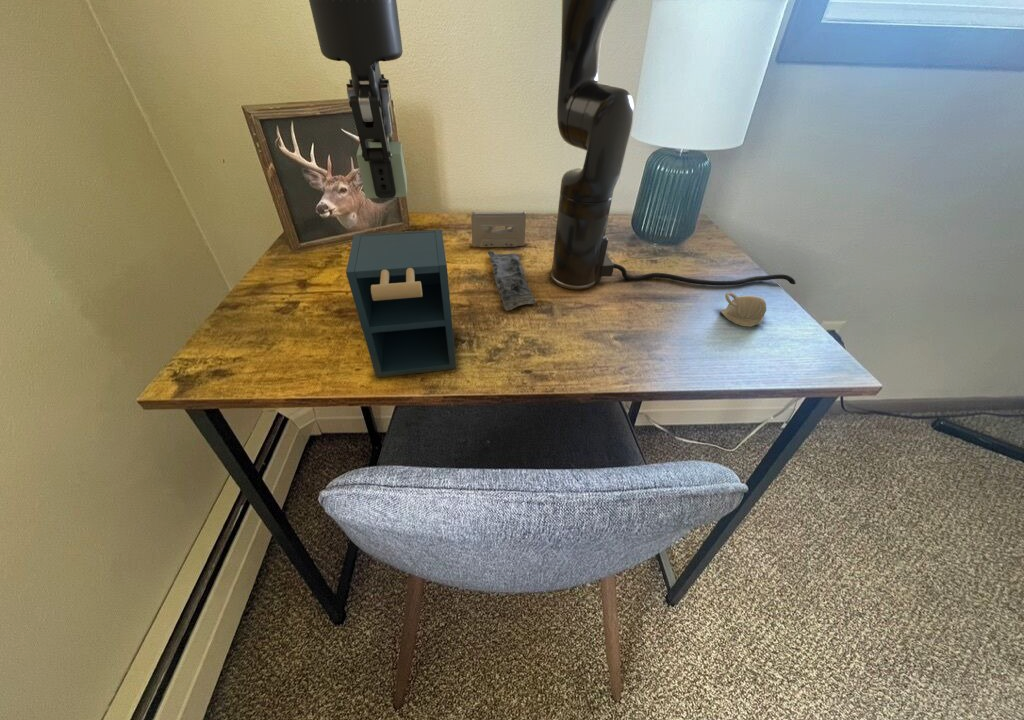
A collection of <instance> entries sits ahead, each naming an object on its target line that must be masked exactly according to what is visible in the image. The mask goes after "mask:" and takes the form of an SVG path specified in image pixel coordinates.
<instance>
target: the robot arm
mask: <svg viewBox="0 0 1024 720" xmlns="http://www.w3.org/2000/svg"><path fill="white" fill-rule="evenodd" d="M308 3H309V6H310V11H311V15H312V19H313V24H314V28H315V32H316V36H317V40H318V44H319V49H320V52H321V55H323V56H324V57H325V58H326V59H328V60H330V61H335V62H345V63H347V64H348V66H349V69H350V71H349V73H350V78H349V79H348V83H346V85H345V87H346V94H347V100H348V104H349V108H351V112H352V116H353V120H354V125H355V130H356V134H357V137H358V140H359V145H361V149H362V157H364V160H365V161H367V162H368V163H369V165H370V170H371V175H372V180H373V185H374V190H375V194H376V196H377V197H378V198H377V199H387V198H395V197H394V196H395V195H396V189H395V183H394V177H393V171H392V165H391V158H392V153H390V147H389V142H395V141H394V136H393V132H394V128H393V126H394V115H393V109H392V104H391V100H392V89H391V84H390V79H389V78H387V77H385V74H384V73H381V67H380V62H391V61H396V60H398V59H400V58H401V57H402V55H403V43H402V42H403V41H402V35H401V27H400V18H399V11H398V3H397V0H308ZM617 3H618V0H561V34H560V35H561V40H560V41H561V42H560V62H559V77H558V87H557V88H558V90H557V91H558V92H557V107H556V117H557V119H556V120H557V128H558V132H559V134H560V136H561V138H562V140H563V141H564V142H565V143H566V144H568V145H570V146H572V147H575V148H578V149H580V150H583V151H586V152H585V153H586V154H585V158H584V162H583V165H582V167H577V168H572V169H569V170H567V171H566V172H564V173H563V175H562V177H561V181H560V189H559V200H558V209H557V218H556V226H555V236H554V246H553V253H552V256H553V257H552V264H551V272H550V278H551V279H550V280H552V282H553V283H554V284H556V285H557V286H559V287H561V288H564V289H569V290H577V291H578V290H587V289H589V288H592V287H593V286H595V285H599V284H600V283H601V279H602V277H612V276H613V272H614V270H615V269H616V270H619V272H621V275H622V276H621V277H622V278H623V279H625V280H627V281H643V280H648V279H653V278H660V279H668V280H673V281H677V282H682V283H687V284H694V285H701V286H718V287H719V286H720V287H721V286H722V287H723V286H738V285H739V286H740V285H744V284H747V283H748V284H749V283H752V282H759V281H761V282H763V281H771V280H785V281H787V282H788V283H789V284H790V285H796V280H795V279H794V278H793V276H790V275H788V274H782V273H781V274H780V273H779V274H778V273H777V274H767V275H759V276H758V275H757V276H756V275H755V276H751V277H747V278H746V277H745V278H742V279H736V280H735V279H734V280H708V279H698V278H697V279H696V278H690V277H685V276H680V275H675V274H671V273H666V272H665V273H664V272H651V273H646V274H642V275H641V274H640V275H636V276H635V275H634V276H633V275H630V274H628V273H627V269H626V268H625V267H624V266H623V265H621V264H618V263H615V262H613V261H612V260H611V258H610V257H609V256H608V254H607V248H608V244H609V238H608V237H607V235H606V231H607V226H608V221H609V216H610V211H611V206H612V200H613V195H614V192H615V188H616V185H617V183H618V181H619V179H620V177H621V173H622V171H623V166H624V162H625V158H626V155H627V150H628V146H629V143H630V138H631V135H632V131H633V126H634V120H635V101H634V98H633V95H632V93H631V92H630V91H629V90H628V89H626V88H624V87H620V86H616V85H611V84H607V83H602V82H600V81H599V68H600V65H599V64H600V53H601V46H602V40H603V36H604V33H605V29H606V28H607V24H608V22H609V20H610V17H611V16H612V13H613V11H614V9H615V7H616V5H617ZM371 142H381V145H382V147H379V148H370V143H371Z"/></svg>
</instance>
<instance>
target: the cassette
mask: <svg viewBox="0 0 1024 720" xmlns="http://www.w3.org/2000/svg"><path fill="white" fill-rule="evenodd" d="M470 219H471V221H470V222H471V245H472V247H473V248H477V247H478V248H514V247H515V248H516V247H524V246H525V245H526V244H525V243H526V224H527V223H526V222H527V214H526V211H471V213H470ZM493 227H504V229H493Z"/></svg>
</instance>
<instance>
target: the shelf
mask: <svg viewBox="0 0 1024 720" xmlns="http://www.w3.org/2000/svg"><path fill="white" fill-rule="evenodd" d="M443 235H444V234H443V230H442V229H432V230H431V229H430V230H411V231H394V232H376V233H361V234H353V235H352V240H351V247H350V251H349V256H348V260H347V264H346V265H347V266H346V270H345V275H346V277H347V281H348V285H349V289H350V291H351V295H352V299H353V302H354V306H355V309H356V312H357V316H358V320H359V322H360V327H361V330H362V334H363V336H364V340H365V342H366V343H365V344H366V347H367V350H368V354H369V357H370V361H371V365H372V368H373V371H374V375H375V378H378V379H379V378H387V377H394V376H395V377H396V376H403V375H404V376H405V375H412V374H424V373H432V372H439V371H441V372H442V371H451V370H456V369H457V361H456V349H455V338H454V327H453V316H452V305H451V298H450V297H451V295H450V294H451V293H450V285H449V273H448V265H447V264H448V263H447V257H446V249H445V241H444V236H443Z"/></svg>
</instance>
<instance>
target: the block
mask: <svg viewBox="0 0 1024 720" xmlns="http://www.w3.org/2000/svg"><path fill="white" fill-rule="evenodd" d="M402 143H403V142H401V141H394V142H389V147H390V153H392V158H391V165H392V171H393V177H394V183H395V189H396V195H395V196H394V197H393V198H407V197H408V179H407V171H406V165H405V158H404V151H403V144H402ZM379 147H382V145H381V142H371V143H370V148H379ZM355 157H356V161H357V165H358V169H359V174H360V179H361V184H362V188H363V192H364V198H365V199H379V198H378V197H377V196H376V194H375V190H374V185H373V180H372V175H371V170H370V165H369V163H368V162H367V161H365V160H364V157H362V149H361V145H360V144H359V145H358V147H357V152H356V156H355Z"/></svg>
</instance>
